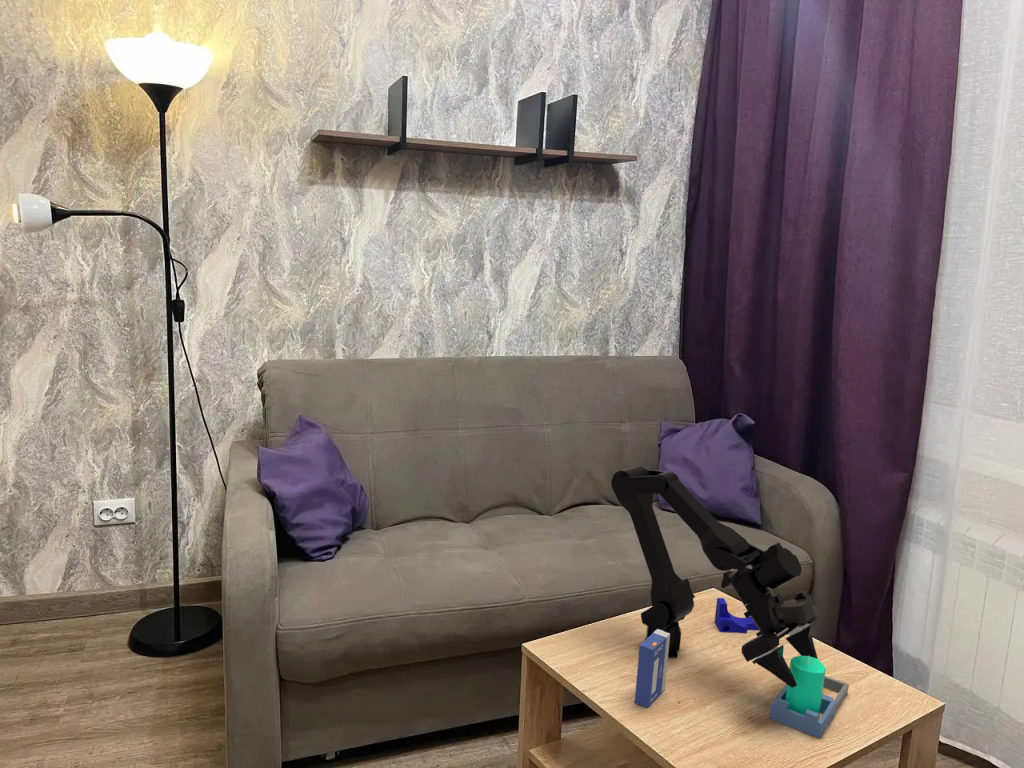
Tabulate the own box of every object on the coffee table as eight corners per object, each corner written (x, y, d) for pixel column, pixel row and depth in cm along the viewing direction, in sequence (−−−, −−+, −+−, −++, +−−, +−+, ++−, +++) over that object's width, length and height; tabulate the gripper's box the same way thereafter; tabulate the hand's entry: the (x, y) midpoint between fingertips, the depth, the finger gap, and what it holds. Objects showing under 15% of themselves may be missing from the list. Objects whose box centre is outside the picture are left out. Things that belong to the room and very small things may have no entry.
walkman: (648, 708, 149) (653, 648, 146) (634, 702, 150) (639, 643, 148) (665, 689, 155) (671, 631, 153) (652, 684, 157) (657, 626, 154)
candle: (793, 726, 145) (801, 665, 143) (778, 706, 151) (785, 647, 149) (824, 725, 146) (833, 664, 144) (808, 705, 152) (816, 646, 150)
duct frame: (819, 739, 142) (822, 718, 141) (768, 719, 147) (771, 699, 146) (847, 693, 157) (850, 674, 156) (800, 676, 162) (802, 658, 161)
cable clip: (719, 632, 178) (722, 607, 177) (714, 622, 183) (717, 597, 182) (773, 635, 179) (777, 609, 177) (767, 625, 183) (770, 600, 182)
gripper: (765, 595, 141) (818, 681, 135) (813, 567, 154) (863, 644, 148) (720, 620, 148) (768, 702, 142) (769, 591, 161) (816, 665, 155)
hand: (806, 677), depth 147 cm, fingers open, 9 cm apart
